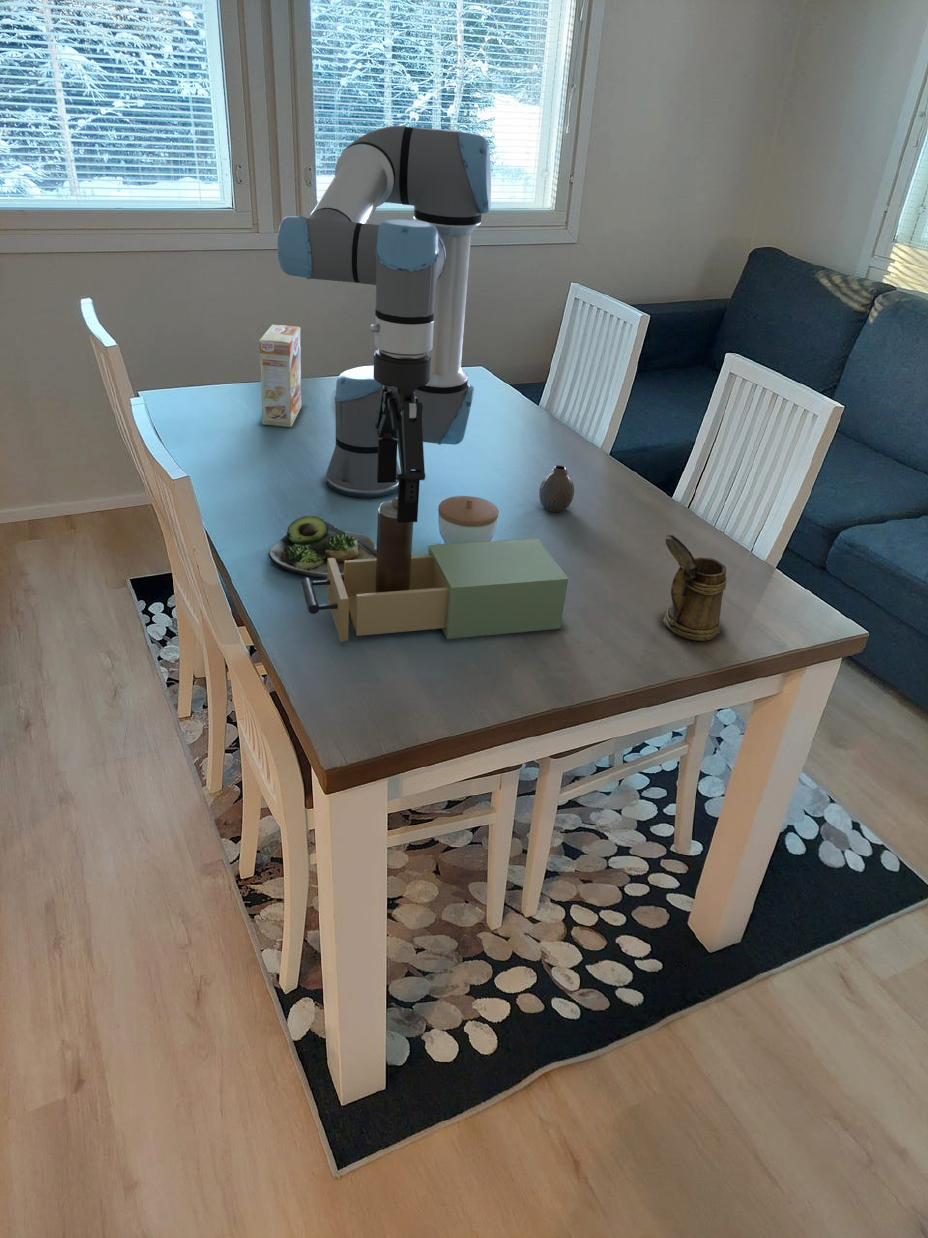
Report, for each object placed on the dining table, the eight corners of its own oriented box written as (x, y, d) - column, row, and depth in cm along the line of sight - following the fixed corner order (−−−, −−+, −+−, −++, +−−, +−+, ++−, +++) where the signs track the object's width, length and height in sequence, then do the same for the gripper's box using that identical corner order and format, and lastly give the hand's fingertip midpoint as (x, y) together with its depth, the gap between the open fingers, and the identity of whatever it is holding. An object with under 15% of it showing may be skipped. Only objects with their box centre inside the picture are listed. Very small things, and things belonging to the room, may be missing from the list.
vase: (569, 517, 172) (576, 476, 167) (535, 512, 173) (540, 471, 168) (572, 503, 178) (579, 463, 173) (539, 498, 178) (545, 458, 174)
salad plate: (403, 547, 155) (404, 524, 153) (364, 593, 141) (364, 568, 138) (305, 525, 159) (304, 502, 157) (257, 568, 145) (255, 543, 142)
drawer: (310, 644, 126) (310, 601, 122) (299, 600, 136) (299, 559, 132) (454, 631, 132) (458, 590, 128) (434, 590, 142) (437, 551, 138)
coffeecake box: (291, 427, 201) (289, 342, 191) (261, 425, 201) (257, 339, 191) (302, 406, 214) (301, 326, 203) (274, 404, 214) (271, 323, 203)
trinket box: (501, 541, 161) (506, 494, 156) (483, 566, 152) (489, 517, 147) (447, 528, 163) (451, 482, 158) (427, 552, 154) (430, 504, 149)
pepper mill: (371, 601, 135) (375, 491, 125) (404, 598, 137) (409, 490, 127) (378, 618, 131) (382, 506, 121) (411, 616, 132) (418, 505, 122)
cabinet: (447, 639, 131) (451, 587, 127) (425, 593, 142) (428, 544, 137) (560, 628, 137) (568, 578, 132) (530, 585, 147) (537, 538, 143)
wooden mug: (630, 622, 140) (652, 522, 130) (694, 607, 146) (719, 510, 136) (665, 652, 133) (690, 548, 124) (730, 634, 139) (760, 535, 130)
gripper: (357, 326, 122) (354, 467, 133) (395, 380, 102) (388, 541, 113) (409, 326, 124) (402, 466, 135) (456, 380, 104) (444, 538, 115)
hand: (396, 500), depth 124 cm, fingers open, 13 cm apart
